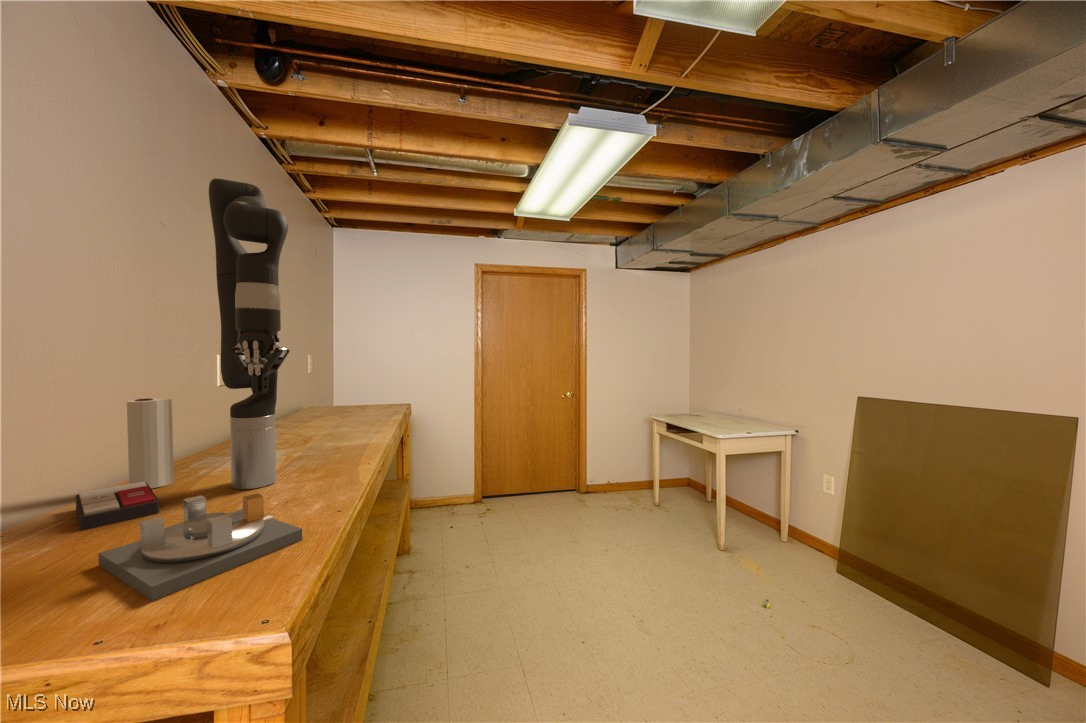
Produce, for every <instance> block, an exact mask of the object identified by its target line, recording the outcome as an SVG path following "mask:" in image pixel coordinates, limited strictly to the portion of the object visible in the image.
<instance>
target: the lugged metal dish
mask: <svg viewBox="0 0 1086 723" xmlns="http://www.w3.org/2000/svg"><path fill="white" fill-rule="evenodd" d="M182 500H183V521H181V522H179V523H175V524H173V525H170V526H168V527H165V520H164V518H163V517H162V516H157V517H153V518H149V519H144V520H141V521H139V533H140V534H139V537H140V540H139V541H140V544H141V548H142V557H143V558H144V559H146V560H148V561H152V562H158V563H174V562H184V561H191V560H197V559H202V558H206V557H210V556H214V555H218V554H221V553H224V552H227V551H230V550H233V549H235V548H238V547H240V546H242V545H245V544H247V543H248V542H250V541H252V540H254V539H255V538H256V537H258V536H259V535H260V534H261V533H262V531H263V529H264V520H263V518H264V512H265V511H264V510H265V508H264V496H263V495H261V494H260V493H259V492H258V493H254V494H249V495H246V496H245V495H244V496H242V509H243V513H231V512H211V513H207V497H205V496H203V495H202V494H200V495H197V496H192V497H187V498H183V499H182Z"/></svg>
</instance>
